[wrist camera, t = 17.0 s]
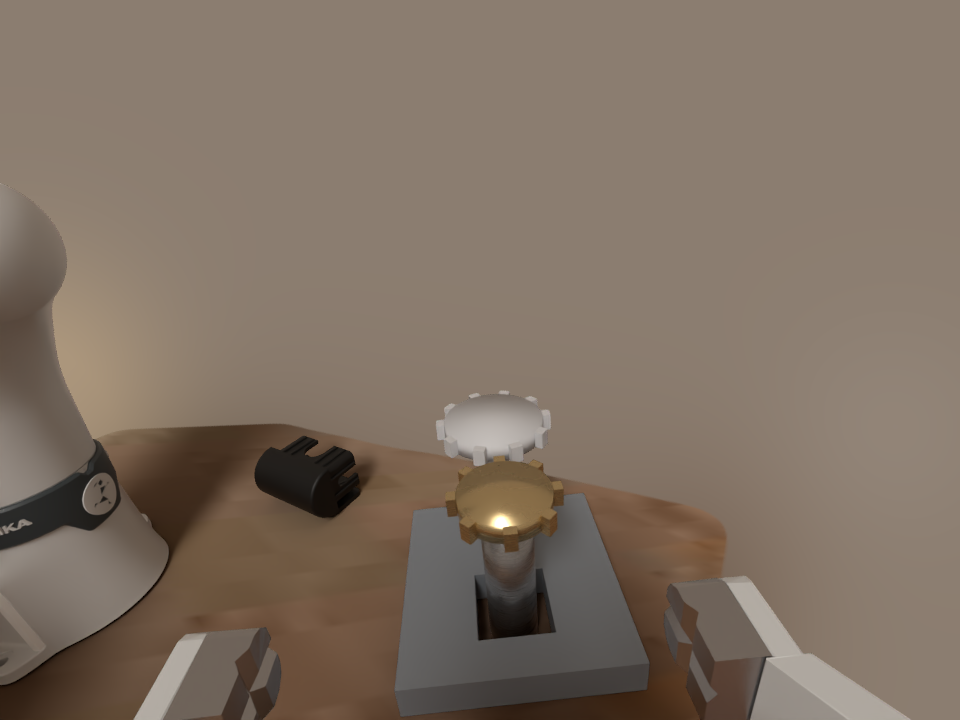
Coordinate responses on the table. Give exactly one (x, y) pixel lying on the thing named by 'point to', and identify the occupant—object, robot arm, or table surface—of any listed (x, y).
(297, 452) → the end cap
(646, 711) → the table surface
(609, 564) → the gear board
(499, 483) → the gear axle
